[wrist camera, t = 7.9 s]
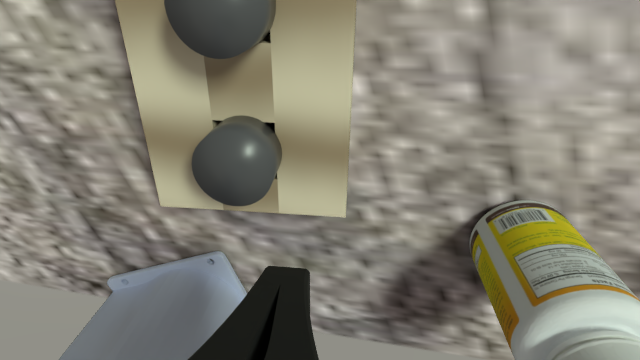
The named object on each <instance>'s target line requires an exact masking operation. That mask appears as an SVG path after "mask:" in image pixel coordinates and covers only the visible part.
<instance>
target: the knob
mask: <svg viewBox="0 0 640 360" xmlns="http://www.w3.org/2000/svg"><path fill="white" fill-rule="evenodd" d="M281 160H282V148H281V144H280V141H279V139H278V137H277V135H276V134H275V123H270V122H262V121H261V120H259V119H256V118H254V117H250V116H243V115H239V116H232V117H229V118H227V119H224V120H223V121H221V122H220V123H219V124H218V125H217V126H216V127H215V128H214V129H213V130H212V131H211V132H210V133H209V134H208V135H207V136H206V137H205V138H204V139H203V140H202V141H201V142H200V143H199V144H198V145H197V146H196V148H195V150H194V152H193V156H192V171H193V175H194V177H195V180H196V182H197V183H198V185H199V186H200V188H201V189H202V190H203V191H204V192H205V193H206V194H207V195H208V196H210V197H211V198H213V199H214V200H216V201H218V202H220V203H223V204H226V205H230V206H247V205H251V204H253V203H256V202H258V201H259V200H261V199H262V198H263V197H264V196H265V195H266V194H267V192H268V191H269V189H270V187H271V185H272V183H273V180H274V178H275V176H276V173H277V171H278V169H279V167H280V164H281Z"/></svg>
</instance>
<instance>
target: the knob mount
mask: <svg viewBox="0 0 640 360" xmlns="http://www.w3.org/2000/svg"><path fill="white" fill-rule="evenodd" d="M115 3H116V7H117V12H118V16H119V21H120V25H121V30H122V34H123V39H124V43H125V48H126V52H127V57H128V61H129V66H130V70H131V75H132V79H133V84H134V88H135V93H136V97H137V102H138V106H139V111H140V115H141V120H142V124H143V129H144V133H145V138H146V142H147V147H148V151H149V156H150V160H151V165H152V169H153V174H154V178H155V183H156V187H157V192H158V196H159V201H160V206H165V207H182V208H199V209H216V210H232V211H249V212H266V213H283V214H300V215H316V216H333V217H345V216H346V200H347V182H348V162H349V142H350V121H351V101H352V81H353V61H354V40H355V20H356V0H276V13H275V19H274V22H273V25H272V27H271V29H270V35H267V36H266V37H265V38H264V39H263V40H262V41H261V42H260V43H258V44H257V45H255V46H253V47H252V48H250V49H248V50H247V51H245V52H243V53H241V54H239V55H237V56H235V57H232V58H227V59H213V58H209V57H206V56H203V55H200V54H199V53H197V52H195V51H193V50H192V49H190V48H189V47H188V46H187V45H186V44H184V43H183V41H182V40H181V39H180V38H179V37H178V36H177V34H176V33H175V31H174V30H173V28H172V26H171V24H170V22H169V20H168V17H167V14H166V10H165V6H164V0H115ZM239 115H243V116H250V117H254V118H256V119H259V120H261V121H262V122H270V123H275V134H276V135H277V137H278V139H279V141H280V144H281V148H282V160H281V164H280V167H279V169H278V171H277V173H276V176H275V178H274V180H273V183H272V185H271V187H270V189H269V191H268V192H267V194H266V195H265V196H264V197H263V198H262V199H261V200H259V201H258V202H256V203H253V204H251V205H247V206H230V205H226V204H223V203H220V202H218V201H216V200H214V199H213V198H211V197H210V196H208V195H207V194H206V193H205V192H204V191H203V190H202V189H201V188H200V186H199V185H198V183H197V182H196V180H195V177H194V175H193V171H192V156H193V152H194V150H195V148H196V146H197V145H198V144H199V143H200V142H201V141H202V140H203V139H204V138H205V137H206V136H207V135H208V134H209V133H210V132H211V131H212V130H213V129H214V128H215V127H216V126H217V125H218V124H219V123H220V122H221V121H223V120H224V119H227V118H229V117H232V116H239Z"/></svg>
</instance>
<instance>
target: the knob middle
mask: <svg viewBox="0 0 640 360" xmlns="http://www.w3.org/2000/svg"><path fill="white" fill-rule="evenodd" d="M164 6H165V10H166V14H167V17H168V20H169V22H170V24H171V26H172V28H173V30H174V31H175V33H176V34H177V36H178V37H179V38H180V39H181V40H182V41H183V43H184V44H186V45H187V46H188V47H189V48H190V49H192V50H193V51H195V52H197V53H199V54H200V55H203V56H206V57H209V58H213V59H227V58H232V57H235V56H237V55H239V54H241V53H243V52H245V51H247V50H248V49H250V48H252V47H253V46H255V45H257V44H258V43H260V42H261V41H262V40H263V39H264V38H265V37H266V36H267V34H268V33H269V31H270V29H271V27H272V25H273V22H274V19H275V13H276V0H164Z"/></svg>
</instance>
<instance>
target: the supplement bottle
mask: <svg viewBox="0 0 640 360" xmlns="http://www.w3.org/2000/svg"><path fill="white" fill-rule="evenodd" d="M470 253H471V256H472V259H473V261H474V264H475V266H476V269H477V271H478V273H479V275H480V278H481V280H482V282H483V285H484V287H485V290H486V292H487V294H488V297H489V299H490V301H491V304H492V306H493V308H494V311H495V313H496V316H497V318H498V320H499V323H500V325H501V327H502V330H503V332H504V335H505V337H506V340H507V342H508V344H509V347H510V349H511V352H512V354H513V356H514V358H515V360H640V300H639V299H638V298H637V297H636V296H635V295H634V294H633V293H632V291H631V290H630V289H629V288H628V287H627V286H626V285H625V284H624V283H623V281H622V280H621V279H620V278H619V277H618V276H617V275H616V274H615V273H614V271H613V270H612V269H611V268H610V267H609V266H608V265H607V264H606V263H605V261H604V260H603V259H602V258H601V257H600V256H599V255H598V254H597V253H596V251H595V250H594V249H593V248H592V247H591V246H590V245H589V244H588V243H587V242H586V240H585V239H584V238H583V237H582V236H581V235H580V234H579V233H578V232H577V230H576V229H575V228H574V227H573V226H572V225H571V224H570V223H569V221H568V220H567V219H566V218H565V217H564V216H563V215H562V214H561V213H560V212H559V211H557V210H556V209H555V208H553V207H551V206H549V205H547V204H544V203H541V202H537V201H530V200H521V201H513V202H509V203H506V204H503V205H500V206H498V207H496V208H494V209H492V210H491V211H489V212H488V213H486V214H485V215H484V216H483V217H482V218H481V219H480V220H479V221H478V222H477V224H476V225H475V227H474V229H473V231H472V233H471V237H470Z"/></svg>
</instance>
